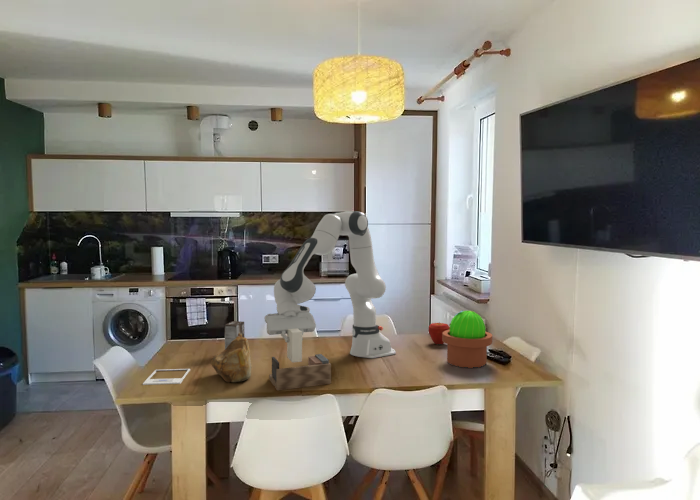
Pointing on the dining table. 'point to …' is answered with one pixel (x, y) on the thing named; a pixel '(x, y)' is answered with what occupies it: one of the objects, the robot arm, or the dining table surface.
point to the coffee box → (233, 331)
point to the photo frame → (165, 381)
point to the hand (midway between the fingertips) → (294, 341)
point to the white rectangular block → (294, 345)
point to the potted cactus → (467, 340)
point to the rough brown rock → (234, 361)
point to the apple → (437, 331)
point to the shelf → (301, 374)
